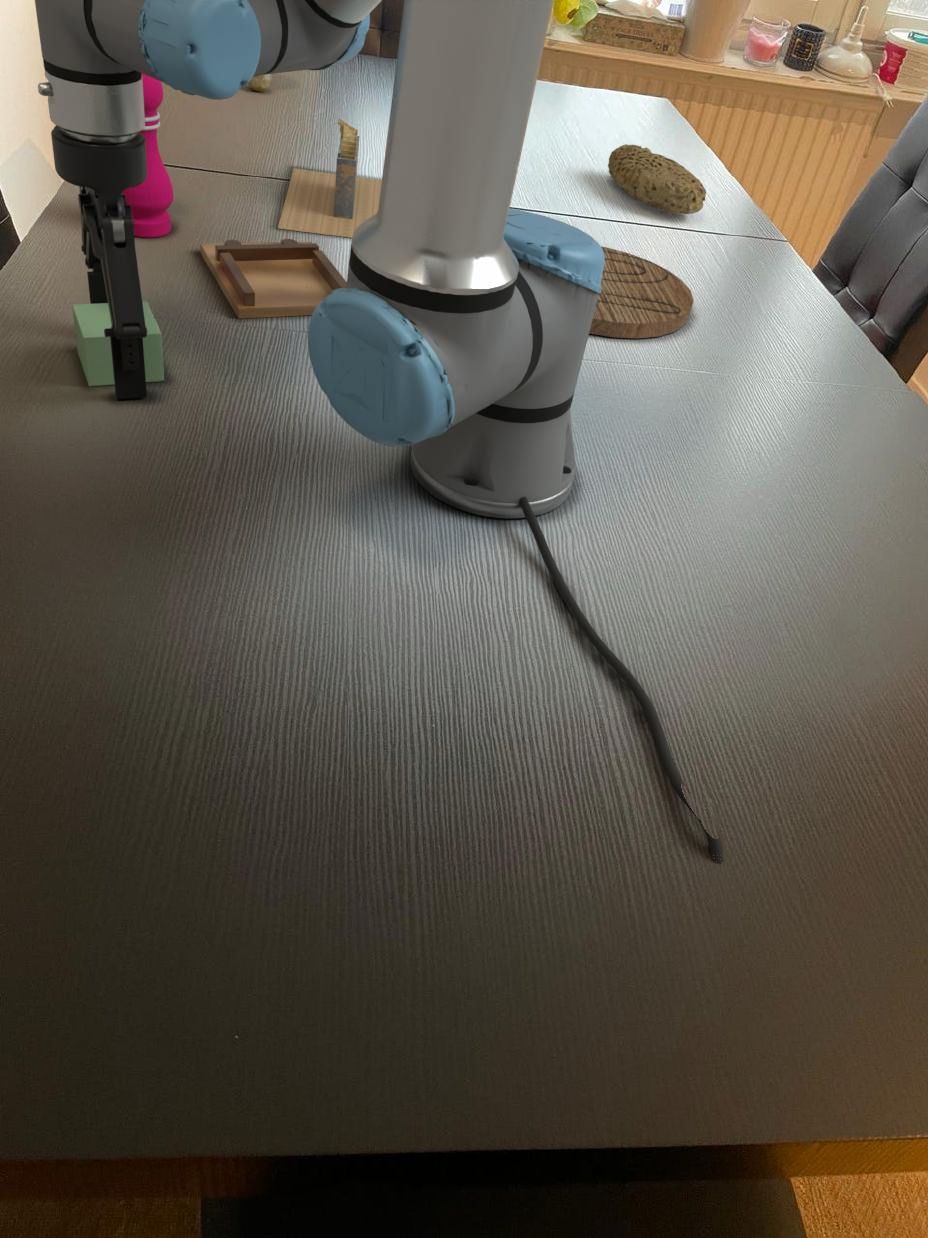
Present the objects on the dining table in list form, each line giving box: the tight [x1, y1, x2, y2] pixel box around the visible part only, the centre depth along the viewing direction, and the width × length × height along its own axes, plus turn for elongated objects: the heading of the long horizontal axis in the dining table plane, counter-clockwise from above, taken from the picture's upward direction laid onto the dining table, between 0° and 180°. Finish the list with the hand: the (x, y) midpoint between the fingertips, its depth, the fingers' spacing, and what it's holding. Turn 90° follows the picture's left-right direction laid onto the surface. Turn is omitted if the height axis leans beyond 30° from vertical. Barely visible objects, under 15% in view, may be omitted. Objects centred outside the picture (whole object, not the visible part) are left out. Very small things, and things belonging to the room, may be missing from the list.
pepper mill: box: [122, 73, 174, 239], centre depth 117 cm, size 7×7×20 cm
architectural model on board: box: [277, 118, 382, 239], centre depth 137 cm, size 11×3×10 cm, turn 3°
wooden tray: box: [199, 238, 347, 320], centre depth 116 cm, size 18×14×3 cm
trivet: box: [589, 245, 695, 339], centre depth 127 cm, size 25×25×2 cm
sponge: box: [607, 143, 707, 215], centre depth 159 cm, size 13×8×20 cm
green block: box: [71, 301, 165, 387], centre depth 95 cm, size 7×7×5 cm
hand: (119, 364), depth 97 cm, fingers open, 12 cm apart
